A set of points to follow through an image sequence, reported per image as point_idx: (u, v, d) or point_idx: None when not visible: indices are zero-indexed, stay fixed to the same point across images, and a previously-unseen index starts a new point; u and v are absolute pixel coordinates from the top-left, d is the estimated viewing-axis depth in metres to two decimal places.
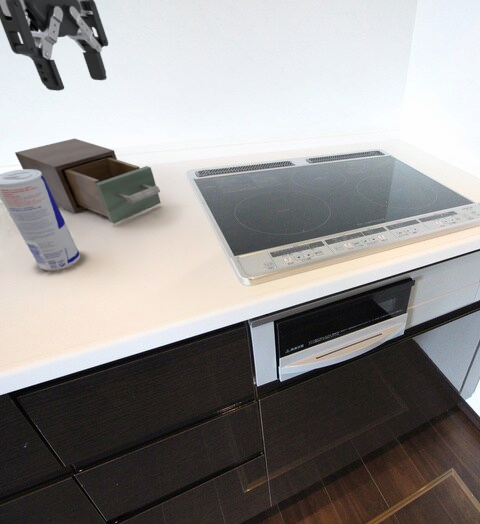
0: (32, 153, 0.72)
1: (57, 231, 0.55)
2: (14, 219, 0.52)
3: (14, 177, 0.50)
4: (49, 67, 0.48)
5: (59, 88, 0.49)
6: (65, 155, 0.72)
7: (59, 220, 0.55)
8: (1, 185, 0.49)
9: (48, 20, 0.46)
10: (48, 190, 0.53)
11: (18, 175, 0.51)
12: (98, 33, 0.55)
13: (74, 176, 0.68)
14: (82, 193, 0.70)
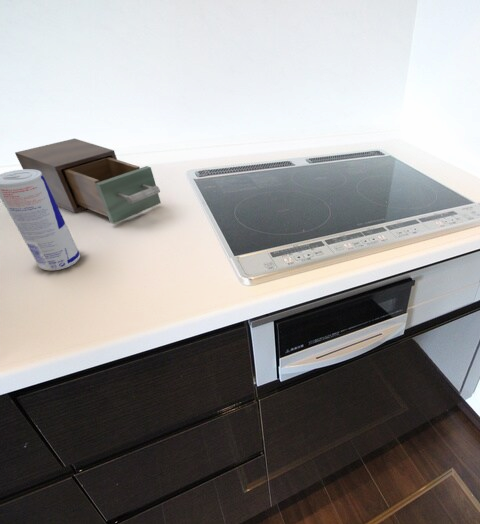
0: (32, 153, 0.72)
1: (57, 231, 0.55)
2: (14, 219, 0.52)
3: (14, 177, 0.50)
4: None
5: None
6: (65, 155, 0.72)
7: (59, 220, 0.55)
8: (1, 185, 0.49)
9: None
10: (48, 190, 0.53)
11: (18, 175, 0.51)
12: None
13: (74, 176, 0.68)
14: (82, 193, 0.70)
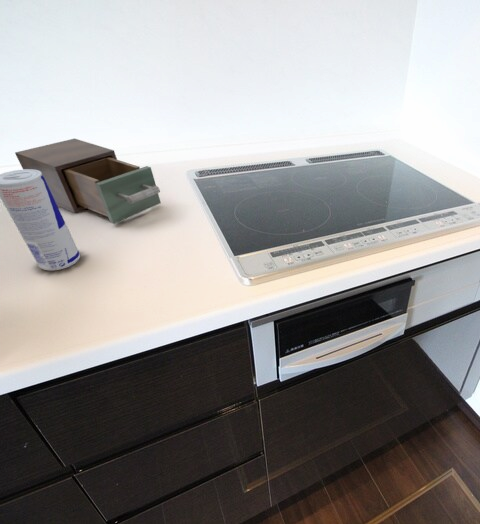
0: (32, 153, 0.72)
1: (57, 231, 0.55)
2: (14, 219, 0.52)
3: (14, 177, 0.50)
4: None
5: None
6: (65, 155, 0.72)
7: (59, 220, 0.55)
8: (1, 185, 0.49)
9: None
10: (48, 190, 0.53)
11: (18, 175, 0.51)
12: None
13: (74, 176, 0.68)
14: (82, 193, 0.70)
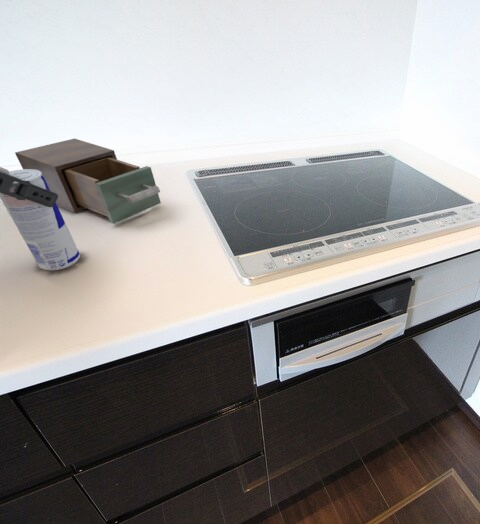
0: (32, 153, 0.72)
1: (57, 231, 0.55)
2: (14, 219, 0.52)
3: None
4: None
5: None
6: (65, 155, 0.72)
7: (59, 220, 0.55)
8: None
9: None
10: None
11: (18, 175, 0.51)
12: None
13: (74, 176, 0.68)
14: (82, 193, 0.70)
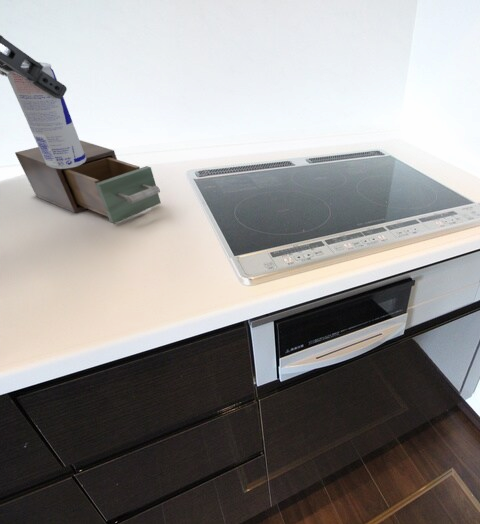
0: (32, 153, 0.72)
1: (65, 126, 0.57)
2: (24, 108, 0.53)
3: (24, 65, 0.52)
4: None
5: None
6: None
7: (67, 116, 0.57)
8: None
9: None
10: None
11: None
12: None
13: (74, 176, 0.68)
14: (82, 193, 0.70)
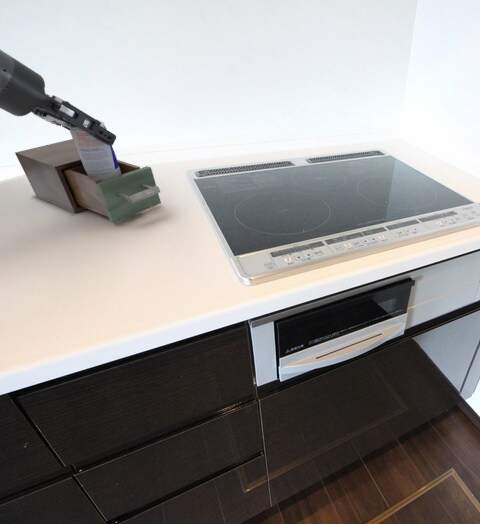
0: (32, 153, 0.72)
1: (114, 170, 0.69)
2: (83, 158, 0.66)
3: (84, 124, 0.65)
4: None
5: None
6: (65, 155, 0.72)
7: (115, 162, 0.69)
8: None
9: None
10: None
11: (87, 123, 0.65)
12: None
13: (75, 176, 0.68)
14: (82, 193, 0.70)
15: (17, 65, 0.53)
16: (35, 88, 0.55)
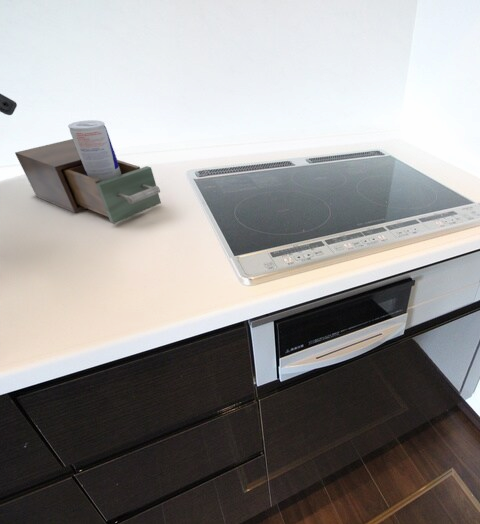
0: (32, 153, 0.72)
1: (114, 170, 0.69)
2: (83, 158, 0.66)
3: (84, 124, 0.65)
4: None
5: None
6: (65, 155, 0.72)
7: (115, 162, 0.69)
8: (76, 129, 0.63)
9: None
10: (108, 137, 0.67)
11: (87, 123, 0.65)
12: None
13: (75, 176, 0.68)
14: (82, 193, 0.70)
15: None
16: None
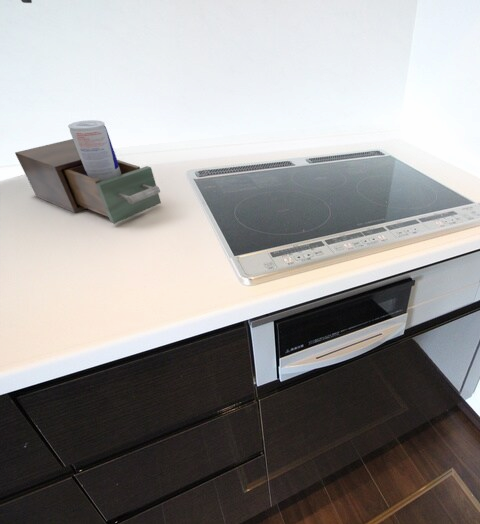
0: (32, 153, 0.72)
1: (114, 170, 0.69)
2: (83, 158, 0.66)
3: (84, 124, 0.65)
4: None
5: None
6: (65, 155, 0.72)
7: (115, 162, 0.69)
8: (76, 129, 0.63)
9: None
10: (108, 137, 0.67)
11: (87, 123, 0.65)
12: None
13: (75, 176, 0.68)
14: (82, 193, 0.70)
15: None
16: None
